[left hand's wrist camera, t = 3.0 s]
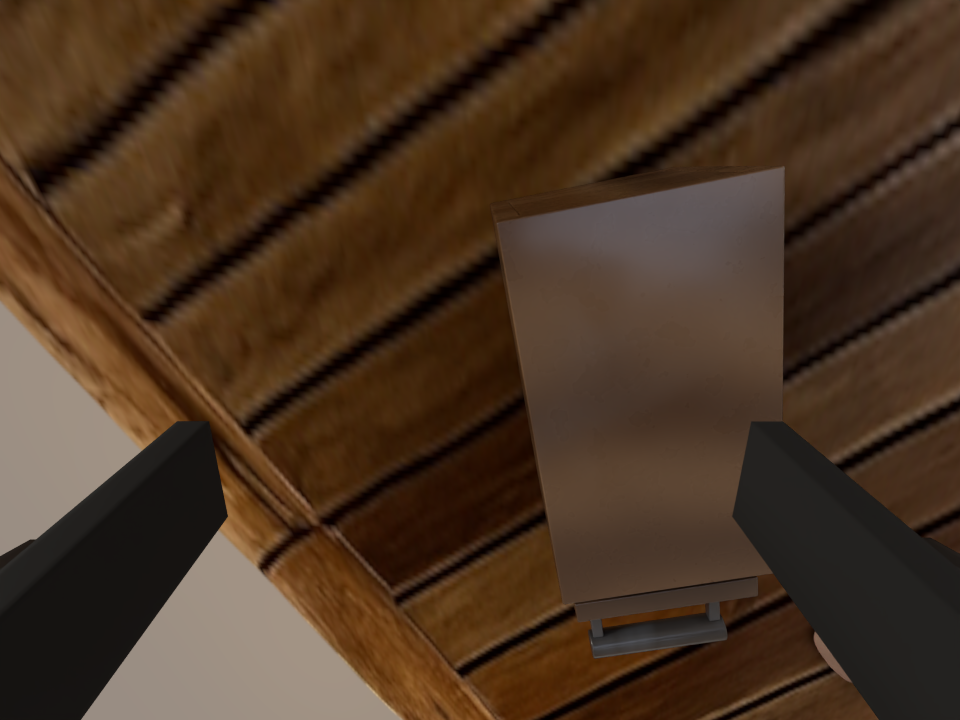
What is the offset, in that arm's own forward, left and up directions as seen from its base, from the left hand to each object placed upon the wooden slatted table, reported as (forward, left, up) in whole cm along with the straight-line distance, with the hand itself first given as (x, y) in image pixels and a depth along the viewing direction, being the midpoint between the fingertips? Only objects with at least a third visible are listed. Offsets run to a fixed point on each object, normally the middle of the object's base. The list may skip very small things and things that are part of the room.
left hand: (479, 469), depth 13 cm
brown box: (-4, +7, -19) cm, 21 cm away
